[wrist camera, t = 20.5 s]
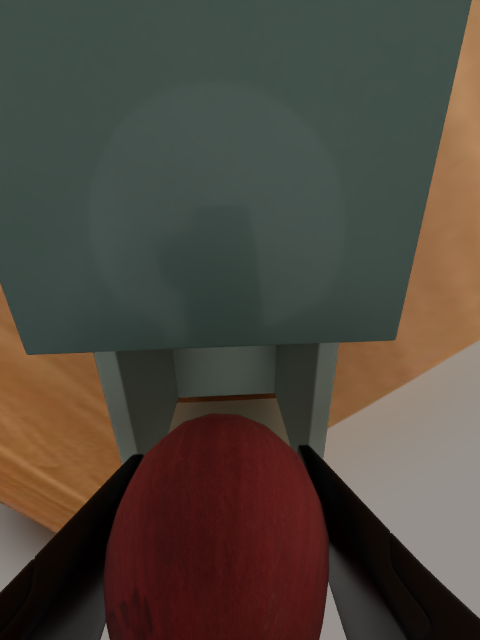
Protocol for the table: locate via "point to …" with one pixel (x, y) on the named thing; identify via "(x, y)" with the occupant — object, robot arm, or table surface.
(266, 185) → the cabinet
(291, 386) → the drawer
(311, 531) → the onion
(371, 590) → the robot arm
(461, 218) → the table surface
